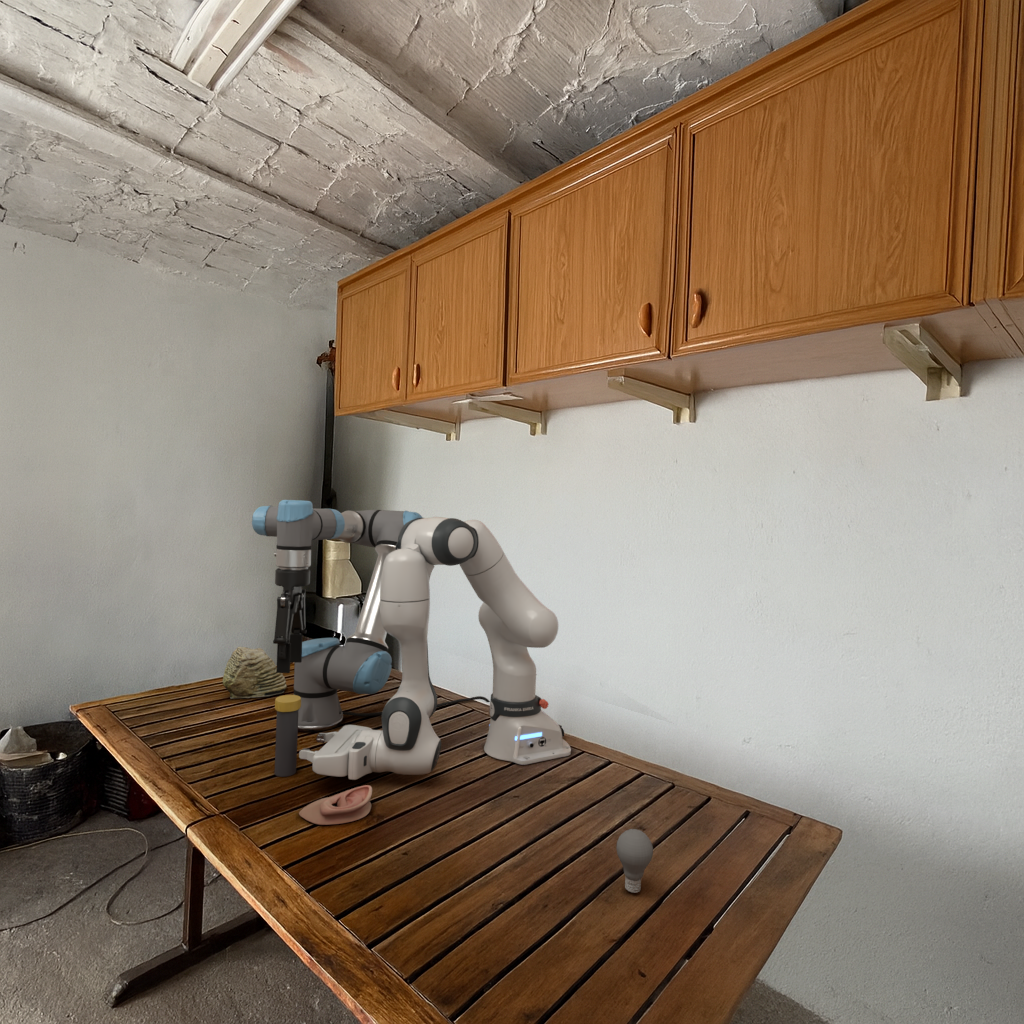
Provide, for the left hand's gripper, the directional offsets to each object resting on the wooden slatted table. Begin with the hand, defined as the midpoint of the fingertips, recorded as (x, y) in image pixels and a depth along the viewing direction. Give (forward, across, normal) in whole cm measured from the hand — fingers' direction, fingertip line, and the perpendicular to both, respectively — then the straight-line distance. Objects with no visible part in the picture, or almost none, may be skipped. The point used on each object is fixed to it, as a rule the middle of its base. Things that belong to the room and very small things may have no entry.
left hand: (289, 667), depth 144 cm
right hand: (+17, +1, +5) cm, 18 cm away
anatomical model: (+24, +18, +16) cm, 34 cm away
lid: (+8, 0, 0) cm, 8 cm away
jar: (+24, 0, 0) cm, 24 cm away
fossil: (+24, -55, -26) cm, 65 cm away
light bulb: (+24, +42, +70) cm, 85 cm away
